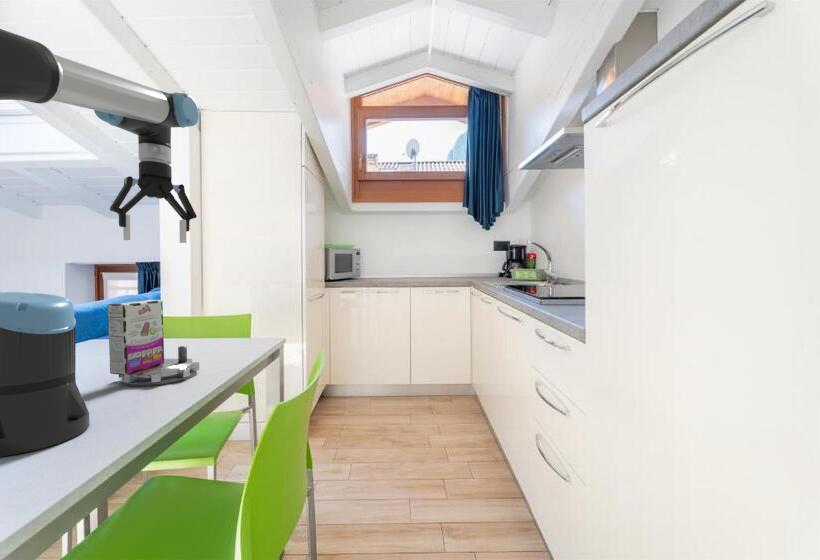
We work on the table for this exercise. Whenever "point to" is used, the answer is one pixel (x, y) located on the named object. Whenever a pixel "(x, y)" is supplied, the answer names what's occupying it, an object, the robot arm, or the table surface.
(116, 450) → the table surface
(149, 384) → the bearing base
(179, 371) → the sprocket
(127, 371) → the candy bar box
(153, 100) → the robot arm
